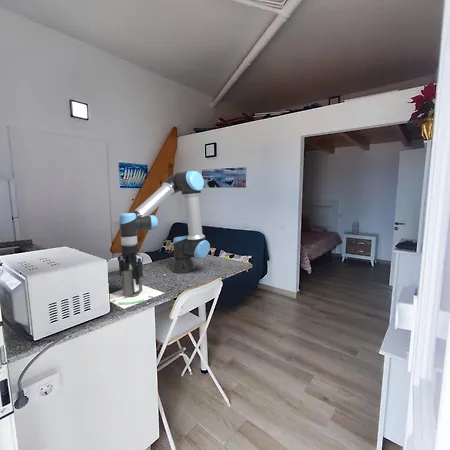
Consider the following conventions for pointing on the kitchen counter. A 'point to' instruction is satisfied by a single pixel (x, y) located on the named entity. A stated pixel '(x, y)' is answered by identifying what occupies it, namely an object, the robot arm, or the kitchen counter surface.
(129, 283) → the grey piece
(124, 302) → the board
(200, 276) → the kitchen counter surface
